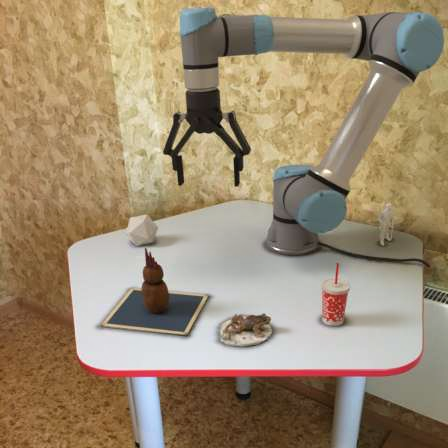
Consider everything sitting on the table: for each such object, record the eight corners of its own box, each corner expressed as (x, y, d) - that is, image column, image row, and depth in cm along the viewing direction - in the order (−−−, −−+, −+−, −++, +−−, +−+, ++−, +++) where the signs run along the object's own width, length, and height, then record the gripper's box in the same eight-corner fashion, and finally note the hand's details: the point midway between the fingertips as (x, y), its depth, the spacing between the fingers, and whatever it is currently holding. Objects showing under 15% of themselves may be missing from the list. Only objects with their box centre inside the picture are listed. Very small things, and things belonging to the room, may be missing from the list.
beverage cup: (313, 316, 120) (317, 260, 113) (337, 311, 122) (342, 255, 115) (327, 330, 115) (332, 271, 108) (352, 324, 117) (358, 266, 110)
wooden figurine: (140, 305, 126) (133, 247, 118) (164, 300, 128) (158, 242, 120) (148, 319, 120) (141, 258, 113) (173, 313, 122) (167, 253, 115)
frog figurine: (269, 315, 121) (270, 301, 119) (275, 345, 110) (275, 330, 108) (219, 317, 121) (218, 302, 119) (219, 347, 110) (219, 332, 108)
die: (153, 236, 165) (131, 212, 162) (168, 230, 158) (145, 204, 155) (137, 255, 161) (114, 230, 157) (152, 248, 154) (128, 222, 150)
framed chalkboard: (208, 296, 130) (208, 294, 129) (186, 336, 114) (186, 334, 114) (131, 289, 134) (131, 287, 134) (101, 326, 119) (100, 325, 118)
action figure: (381, 246, 153) (386, 206, 147) (372, 242, 155) (376, 202, 149) (397, 241, 156) (402, 201, 150) (387, 237, 158) (392, 198, 152)
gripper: (262, 84, 116) (263, 180, 126) (153, 87, 121) (163, 178, 132) (256, 90, 110) (258, 190, 120) (142, 93, 115) (153, 188, 125)
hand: (209, 184), depth 126 cm, fingers open, 13 cm apart
